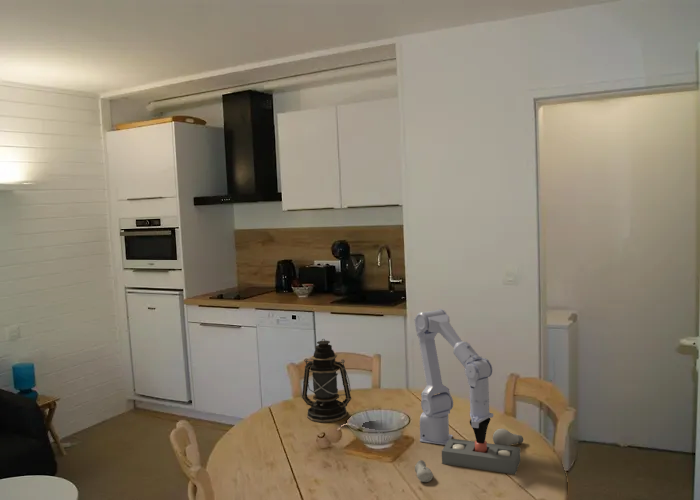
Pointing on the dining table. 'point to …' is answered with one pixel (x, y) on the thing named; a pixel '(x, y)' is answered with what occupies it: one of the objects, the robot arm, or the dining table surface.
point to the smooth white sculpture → (423, 472)
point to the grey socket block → (481, 457)
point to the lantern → (325, 385)
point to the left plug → (458, 446)
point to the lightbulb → (506, 437)
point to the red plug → (481, 447)
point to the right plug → (504, 452)
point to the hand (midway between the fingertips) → (480, 442)
